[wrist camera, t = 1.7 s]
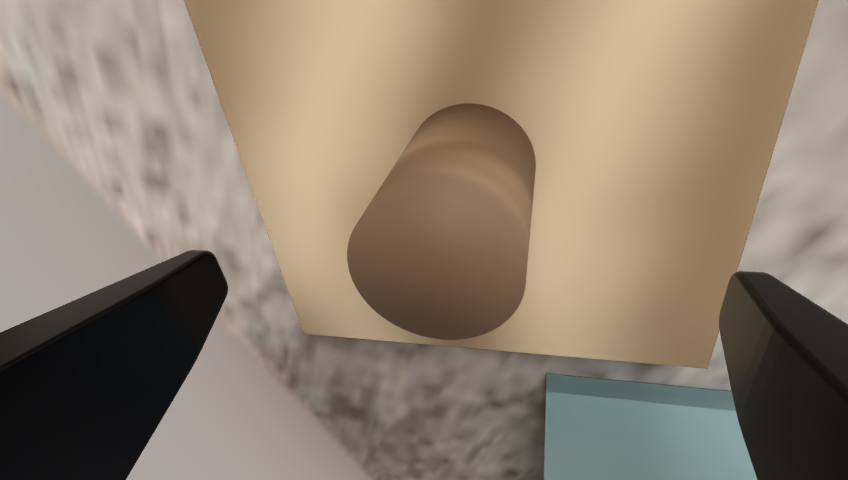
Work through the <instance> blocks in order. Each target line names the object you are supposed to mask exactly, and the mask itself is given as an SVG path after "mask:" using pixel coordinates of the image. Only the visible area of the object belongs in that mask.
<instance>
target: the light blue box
mask: <svg viewBox="0 0 848 480" xmlns="http://www.w3.org/2000/svg"><path fill="white" fill-rule="evenodd" d="M543 480H757V477H756V474H755V471H754V468H753V465H752V462H751V459H750V456H749V453H748V450H747V447H746V444H745V441H744V438H743V435H742V432H741V429H740V425H739V422H738V418H737V414H736V409H735V405H734V400H733V395H732V391H722V390H711V389H701V388H690V387H680V386H670V385H659V384H649V383H638V382H628V381H618V380H607V379H597V378H586V377H576V376H565V375H555V374H547V376H546V410H545V443H544V477H543Z"/></svg>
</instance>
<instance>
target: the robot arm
mask: <svg viewBox="0 0 848 480" xmlns="http://www.w3.org/2000/svg"><path fill="white" fill-rule="evenodd" d="M227 292H228V285H227V281H226V279H225V277H224V275H223V272H222V270H221V268H220V266H219V263H218V261H217V259H216V257H215V255H214V254H213V253H212V252H209V251H202V250H191V251H187V252H185V253H183V254H180V255H178V256H176V257H173V258H171V259H169V260H166V261H164V262H162V263H160V264H157V265H155V266H153V267H150V268H148V269H146V270H143V271H141V272H139V273H137V274H134V275H132V276H130V277H128V278H125V279H123V280H121V281H118V282H116V283H114V284H111V285H109V286H107V287H104V288H102V289H100V290H98V291H95V292H93V293H90V294H88V295H86V296H84V297H82V298H79V299H77V300H75V301H72V302H70V303H68V304H65V305H63V306H61V307H58V308H56V309H54V310H52V311H49V312H47V313H44V314H42V315H40V316H38V317H35V318H33V319H31V320H28V321H26V322H24V323H21V324H19V325H17V326H15V327H12V328H10V329H8V330H5V331H3V332H1V333H0V480H126V478H127V477H128V475H129V473H130V472H131V470H132V468H133V467H134V465H135V463H136V461H137V460H138V458H139V456H140V455H141V453H142V451H143V450H144V448H145V446H146V445H147V443H148V441H149V439H150V438H151V436H152V434H153V433H154V431H155V429H156V428H157V426H158V424H159V423H160V421H161V419H162V418H163V416H164V414H165V413H166V411H167V409H168V408H169V406H170V404H171V402H172V401H173V399H174V397H175V396H176V394H177V392H178V391H179V389H180V387H181V386H182V384H183V382H184V381H185V379H186V377H187V375H188V374H189V372H190V370H191V368H192V367H193V365H194V363H195V361H196V359H197V357H198V355H199V353H200V351H201V349H202V347H203V345H204V343H205V341H206V339H207V337H208V334H209V332H210V330H211V328H212V326H213V324H214V322H215V320H216V318H217V315H218V313H219V311H220V309H221V307H222V305H223V303H224V301H225V298H226V296H227ZM719 329H720V335H721V340H722V345H723V350H724V355H725V360H726V365H727V370H728V375H729V380H730V385H731V390H732V395H733V400H734V405H735V409H736V414H737V418H738V422H739V425H740V429H741V432H742V435H743V438H744V441H745V444H746V447H747V450H748V453H749V456H750V459H751V462H752V465H753V468H754V471H755V474H756V477H757V480H848V324H846V323H845V322H843V321H842V320H840V319H838V318H837V317H835V316H834V315H832V314H831V313H829V312H828V311H826V310H824V309H823V308H821V307H820V306H818V305H817V304H815V303H813V302H812V301H810V300H809V299H807V298H806V297H804V296H803V295H801V294H799V293H798V292H796V291H795V290H793V289H792V288H790V287H789V286H787V285H785V284H784V283H782V282H781V281H779V280H778V279H776V278H774V277H773V276H771V275H769V274H768V273H764V272H741V271H739V272H736V273H734V274H733V275H732V276H731V278H730V280H729V283H728V286H727V289H726V293H725V296H724V300H723V303H722V307H721V310H720V314H719Z"/></svg>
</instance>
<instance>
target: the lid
mask: <svg viewBox="0 0 848 480" xmlns="http://www.w3.org/2000/svg"><path fill="white" fill-rule="evenodd" d="M818 1H819V0H184V2H185V5H186V8H187V10H188V13H189V16H190V19H191V21H192V24H193V27H194V30H195V33H196V35H197V38H198V41H199V44H200V46H201V49H202V52H203V55H204V58H205V60H206V63H207V66H208V69H209V71H210V74H211V77H212V80H213V83H214V85H215V88H216V91H217V94H218V97H219V99H220V102H221V105H222V108H223V110H224V113H225V116H226V119H227V122H228V124H229V127H230V130H231V133H232V135H233V138H234V141H235V144H236V147H237V149H238V152H239V155H240V158H241V161H242V163H243V166H244V169H245V172H246V174H247V177H248V180H249V183H250V186H251V188H252V191H253V194H254V197H255V199H256V202H257V205H258V208H259V211H260V213H261V216H262V219H263V222H264V224H265V227H266V230H267V233H268V236H269V238H270V241H271V244H272V247H273V250H274V252H275V255H276V258H277V261H278V263H279V266H280V269H281V272H282V275H283V277H284V280H285V283H286V286H287V288H288V291H289V294H290V297H291V300H292V302H293V305H294V308H295V311H296V314H297V316H298V319H299V322H300V325H301V327H302V330H303V333H304V334H312V335H323V336H335V337H347V338H358V339H370V340H381V341H393V342H405V343H416V344H428V345H440V346H451V347H463V348H474V349H486V350H498V351H509V352H521V353H533V354H544V355H556V356H567V357H579V358H591V359H602V360H614V361H626V362H637V363H649V364H660V365H672V366H684V367H695V368H707V369H708V366H709V362H710V359H711V356H712V352H713V349H714V346H715V342H716V339H717V336H718V332H719V314H720V310H721V307H722V303H723V300H724V296H725V293H726V289H727V286H728V283H729V280H730V278H731V276H732V275H733V274H734V273H736V272H737V269H738V266H739V263H740V260H741V256H742V253H743V250H744V246H745V243H746V240H747V236H748V233H749V230H750V226H751V223H752V220H753V216H754V213H755V210H756V207H757V203H758V200H759V197H760V193H761V190H762V187H763V183H764V180H765V177H766V173H767V170H768V167H769V163H770V160H771V157H772V153H773V150H774V147H775V144H776V140H777V137H778V134H779V130H780V127H781V124H782V120H783V117H784V114H785V110H786V107H787V104H788V100H789V97H790V94H791V90H792V87H793V84H794V81H795V77H796V74H797V71H798V67H799V64H800V61H801V57H802V54H803V51H804V47H805V44H806V41H807V37H808V34H809V31H810V28H811V24H812V21H813V18H814V14H815V11H816V8H817V4H818Z"/></svg>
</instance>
